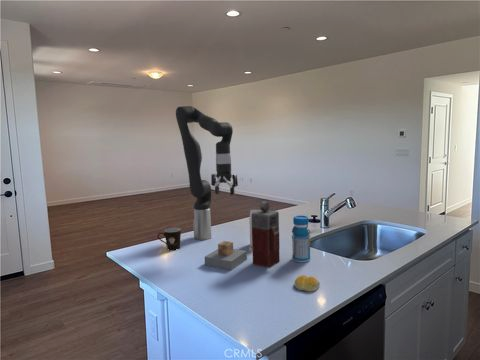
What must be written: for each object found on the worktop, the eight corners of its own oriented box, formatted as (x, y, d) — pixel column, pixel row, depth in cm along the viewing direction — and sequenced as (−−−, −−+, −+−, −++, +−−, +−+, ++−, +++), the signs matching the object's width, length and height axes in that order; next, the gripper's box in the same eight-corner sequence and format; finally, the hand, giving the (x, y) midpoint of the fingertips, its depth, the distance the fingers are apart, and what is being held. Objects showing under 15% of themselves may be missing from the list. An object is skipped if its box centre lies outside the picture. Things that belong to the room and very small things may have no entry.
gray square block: (204, 265, 148) (204, 256, 147) (221, 255, 160) (221, 247, 159) (231, 270, 141) (231, 261, 140) (246, 259, 153) (246, 251, 152)
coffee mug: (185, 246, 174) (184, 228, 173) (175, 252, 166) (174, 233, 165) (167, 244, 179) (166, 226, 178) (157, 249, 171) (156, 230, 170)
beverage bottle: (299, 264, 145) (299, 220, 142) (288, 258, 152) (287, 216, 150) (314, 260, 148) (314, 217, 146) (302, 255, 156) (302, 213, 153)
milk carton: (263, 247, 168) (262, 211, 165) (250, 247, 169) (249, 211, 167) (265, 243, 175) (264, 208, 172) (252, 243, 176) (251, 208, 174)
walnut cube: (218, 254, 149) (217, 244, 148) (224, 251, 153) (223, 241, 152) (227, 256, 146) (227, 245, 146) (233, 252, 151) (233, 242, 150)
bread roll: (299, 280, 129) (299, 270, 129) (321, 285, 124) (321, 275, 124) (290, 289, 122) (290, 278, 122) (314, 294, 117) (313, 283, 117)
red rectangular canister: (274, 269, 141) (272, 205, 137) (252, 263, 147) (250, 202, 144) (284, 262, 148) (283, 201, 144) (263, 257, 154) (261, 199, 151)
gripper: (207, 163, 164) (209, 195, 166) (231, 163, 157) (233, 196, 159) (215, 162, 171) (217, 192, 173) (239, 162, 164) (240, 194, 166)
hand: (224, 194), depth 166 cm, fingers open, 8 cm apart
